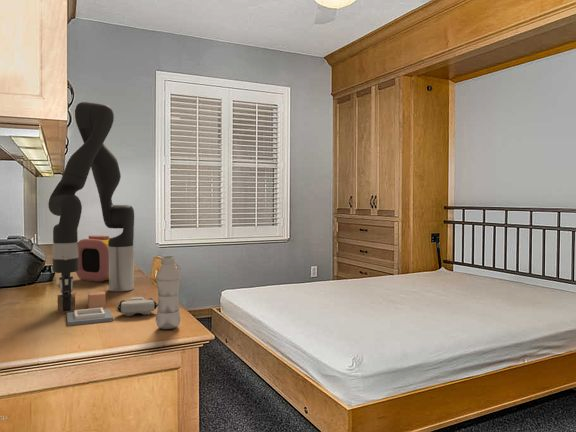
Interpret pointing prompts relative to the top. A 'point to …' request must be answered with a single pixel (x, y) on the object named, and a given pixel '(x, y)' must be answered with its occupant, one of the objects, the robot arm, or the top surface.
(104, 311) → the baseplate
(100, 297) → the terracotta cube
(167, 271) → the plastic bottle
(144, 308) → the robot toy
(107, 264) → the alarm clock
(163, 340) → the top surface
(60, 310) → the walnut cube
